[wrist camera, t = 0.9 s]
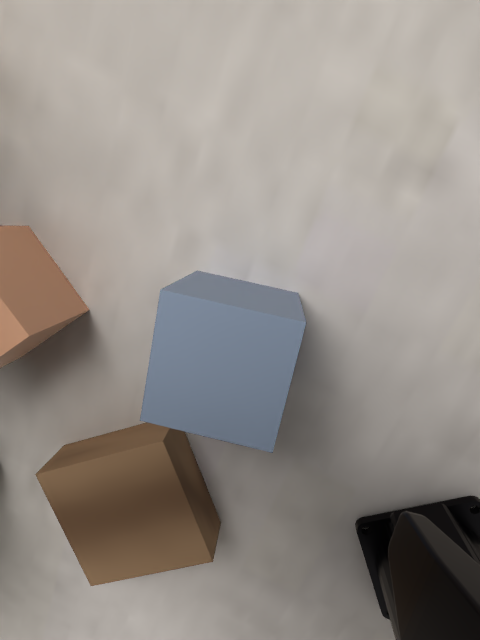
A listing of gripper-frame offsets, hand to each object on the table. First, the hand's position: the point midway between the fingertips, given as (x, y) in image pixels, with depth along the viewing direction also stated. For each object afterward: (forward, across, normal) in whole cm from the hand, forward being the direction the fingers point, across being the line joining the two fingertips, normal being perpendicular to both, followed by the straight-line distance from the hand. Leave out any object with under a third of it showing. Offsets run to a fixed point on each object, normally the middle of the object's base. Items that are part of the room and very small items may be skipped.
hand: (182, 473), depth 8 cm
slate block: (+12, 0, 0) cm, 12 cm away
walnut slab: (+12, +4, +10) cm, 16 cm away
